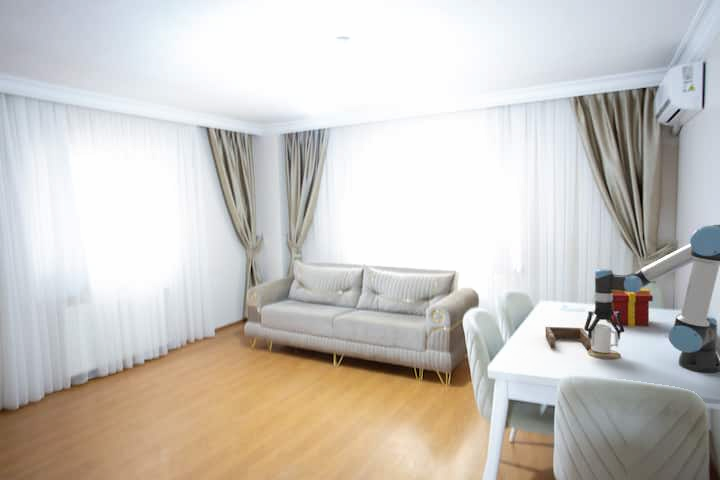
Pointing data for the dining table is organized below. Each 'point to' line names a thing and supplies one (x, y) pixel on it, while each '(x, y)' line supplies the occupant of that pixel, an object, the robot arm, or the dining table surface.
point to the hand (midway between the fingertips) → (604, 345)
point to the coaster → (604, 354)
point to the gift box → (632, 307)
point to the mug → (602, 338)
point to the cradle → (567, 335)
